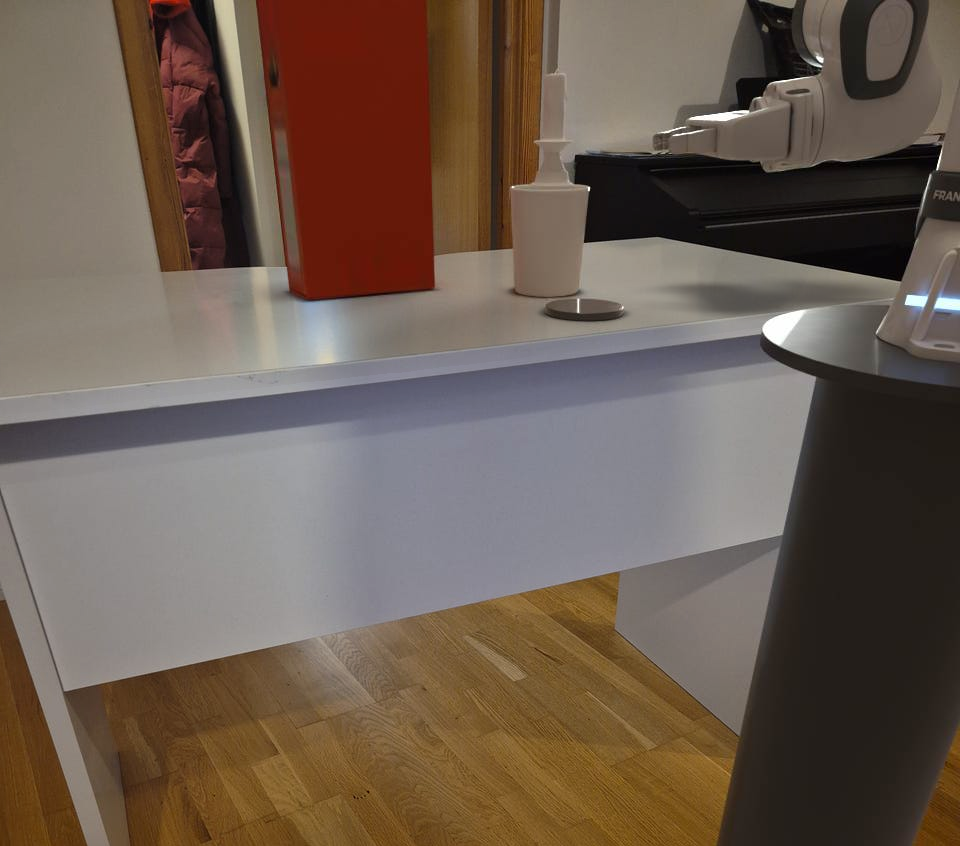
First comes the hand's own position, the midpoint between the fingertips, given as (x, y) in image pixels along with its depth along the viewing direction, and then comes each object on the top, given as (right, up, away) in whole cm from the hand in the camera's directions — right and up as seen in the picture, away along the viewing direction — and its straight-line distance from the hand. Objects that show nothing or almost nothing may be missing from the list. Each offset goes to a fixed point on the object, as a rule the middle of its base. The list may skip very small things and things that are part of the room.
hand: (661, 143), depth 96 cm
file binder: (-36, -11, +14) cm, 40 cm away
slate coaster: (-9, -19, +1) cm, 21 cm away
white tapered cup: (-12, -12, +13) cm, 21 cm away
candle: (-12, -1, +7) cm, 14 cm away
